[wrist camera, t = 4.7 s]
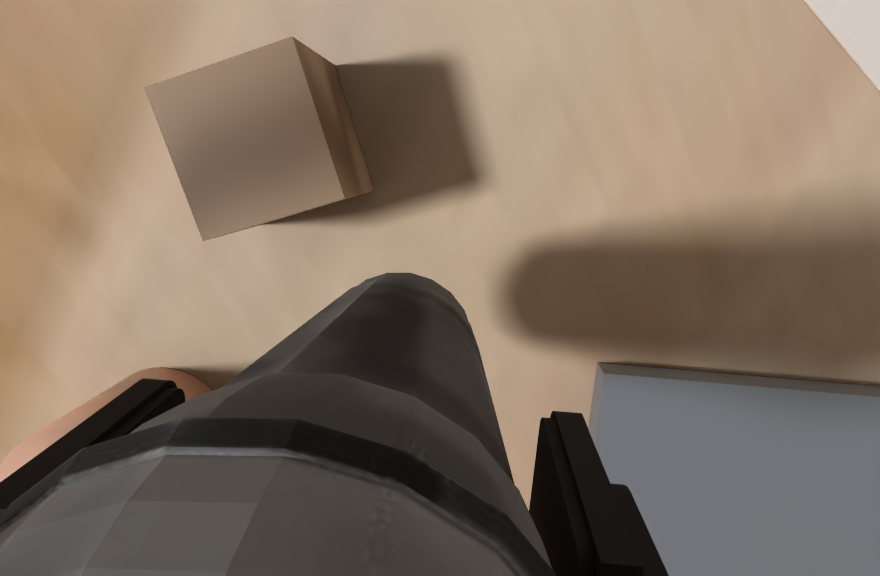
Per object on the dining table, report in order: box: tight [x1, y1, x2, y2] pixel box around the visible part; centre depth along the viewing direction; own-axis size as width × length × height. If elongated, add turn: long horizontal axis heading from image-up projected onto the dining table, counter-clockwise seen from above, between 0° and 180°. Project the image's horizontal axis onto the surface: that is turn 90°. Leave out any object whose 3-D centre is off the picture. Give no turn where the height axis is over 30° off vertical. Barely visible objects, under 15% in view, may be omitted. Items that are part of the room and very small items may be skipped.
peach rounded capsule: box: [0, 368, 212, 482], centre depth 22 cm, size 6×6×6 cm
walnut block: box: [145, 37, 374, 241], centre depth 19 cm, size 5×5×5 cm
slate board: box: [588, 363, 880, 576], centre depth 24 cm, size 16×14×1 cm
